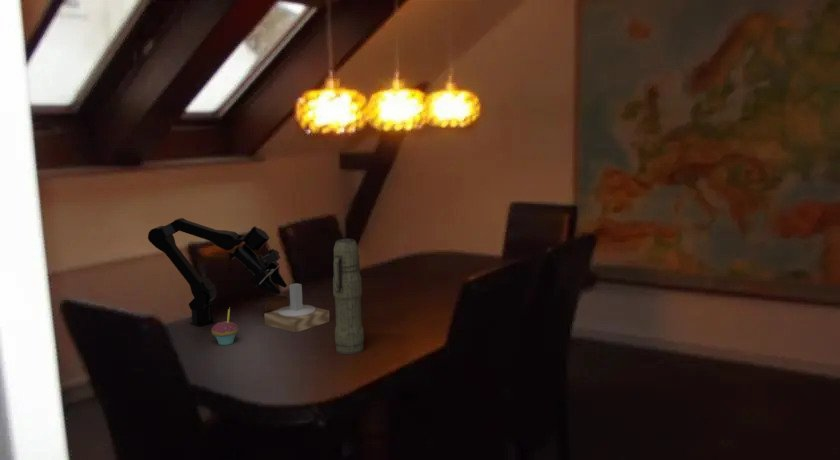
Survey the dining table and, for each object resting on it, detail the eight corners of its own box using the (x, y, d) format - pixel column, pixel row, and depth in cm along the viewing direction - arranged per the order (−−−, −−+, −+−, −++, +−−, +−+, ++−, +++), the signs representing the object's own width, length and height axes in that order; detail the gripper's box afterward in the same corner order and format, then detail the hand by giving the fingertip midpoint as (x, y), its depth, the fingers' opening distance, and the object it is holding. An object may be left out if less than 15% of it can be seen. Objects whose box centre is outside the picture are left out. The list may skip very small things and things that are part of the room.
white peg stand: (295, 319, 253) (293, 290, 252) (270, 313, 261) (268, 285, 260) (323, 310, 263) (321, 283, 261) (298, 305, 271) (297, 278, 270)
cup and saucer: (286, 319, 268) (285, 303, 267) (256, 317, 271) (255, 301, 270) (300, 310, 280) (299, 295, 279) (271, 309, 283) (270, 293, 282)
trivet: (295, 332, 252) (294, 321, 251) (264, 324, 262) (264, 313, 261) (329, 321, 264) (329, 310, 263) (299, 314, 274) (298, 303, 273)
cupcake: (241, 338, 246) (239, 303, 244) (236, 346, 238) (233, 310, 236) (215, 339, 246) (213, 304, 244) (209, 347, 238) (206, 311, 236)
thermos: (370, 345, 236) (367, 237, 231) (353, 357, 226) (349, 243, 220) (346, 342, 240) (342, 235, 234) (328, 354, 229) (323, 242, 223)
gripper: (257, 248, 250) (292, 279, 251) (272, 238, 268) (303, 268, 269) (236, 271, 251) (270, 302, 252) (252, 260, 270) (283, 289, 271)
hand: (283, 289), depth 261 cm, fingers open, 9 cm apart
